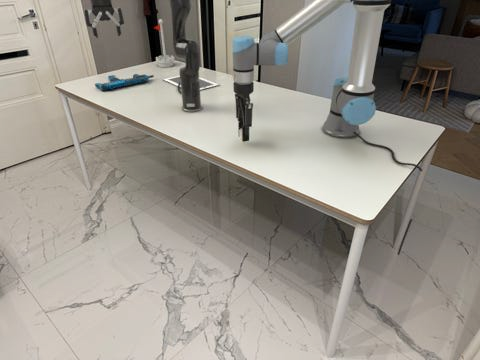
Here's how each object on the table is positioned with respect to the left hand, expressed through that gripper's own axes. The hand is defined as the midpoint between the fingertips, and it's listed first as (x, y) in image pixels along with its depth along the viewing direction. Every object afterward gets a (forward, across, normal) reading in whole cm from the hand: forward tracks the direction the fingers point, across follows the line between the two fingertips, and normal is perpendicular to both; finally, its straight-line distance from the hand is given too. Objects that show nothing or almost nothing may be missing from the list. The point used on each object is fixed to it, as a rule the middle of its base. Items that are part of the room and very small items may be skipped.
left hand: (108, 36), depth 139 cm
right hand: (+35, +40, -45) cm, 70 cm away
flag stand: (+37, +44, +90) cm, 107 cm away
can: (+35, +40, -45) cm, 70 cm away
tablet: (+37, +46, +43) cm, 74 cm away
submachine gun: (+37, +10, +61) cm, 72 cm away
